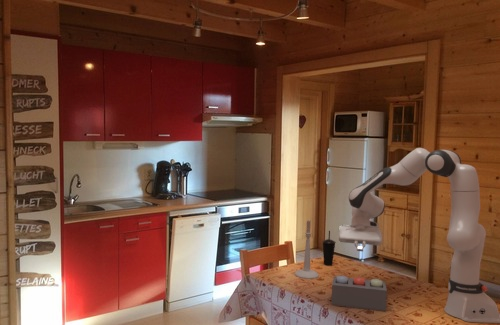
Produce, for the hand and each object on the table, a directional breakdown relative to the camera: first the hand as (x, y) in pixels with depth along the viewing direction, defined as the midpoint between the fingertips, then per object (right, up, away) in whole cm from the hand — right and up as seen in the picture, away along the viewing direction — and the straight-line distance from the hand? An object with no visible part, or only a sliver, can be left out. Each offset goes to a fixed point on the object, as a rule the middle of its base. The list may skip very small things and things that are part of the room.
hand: (359, 250), depth 203 cm
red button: (-3, -14, -11) cm, 18 cm away
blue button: (-10, -14, -9) cm, 19 cm away
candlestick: (-22, -19, +28) cm, 40 cm away
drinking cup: (-6, -18, +49) cm, 53 cm away
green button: (+4, -14, -12) cm, 19 cm away
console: (-3, -21, -10) cm, 24 cm away
